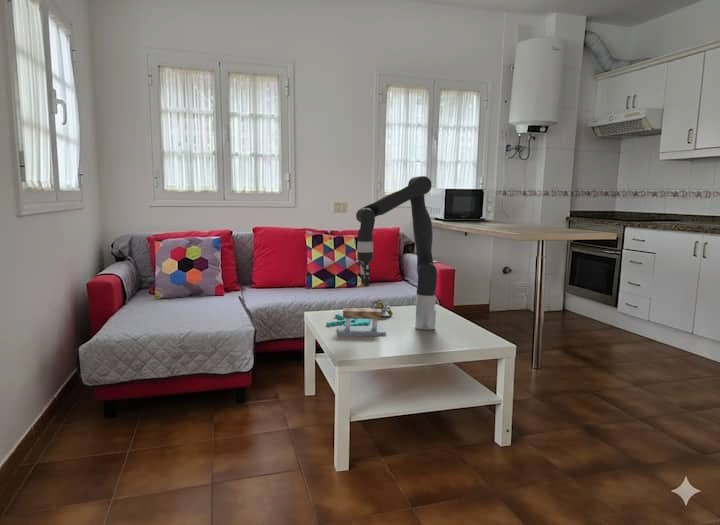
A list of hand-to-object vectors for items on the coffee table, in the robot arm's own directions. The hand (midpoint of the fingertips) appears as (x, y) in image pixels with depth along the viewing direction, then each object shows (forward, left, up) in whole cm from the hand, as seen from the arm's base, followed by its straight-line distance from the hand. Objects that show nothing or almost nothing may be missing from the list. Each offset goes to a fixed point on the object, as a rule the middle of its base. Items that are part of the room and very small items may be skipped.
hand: (364, 284), depth 231 cm
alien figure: (+5, -17, -24) cm, 30 cm away
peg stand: (+1, +1, -23) cm, 23 cm away
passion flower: (-14, -30, -23) cm, 41 cm away
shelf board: (+1, +1, -16) cm, 16 cm away
